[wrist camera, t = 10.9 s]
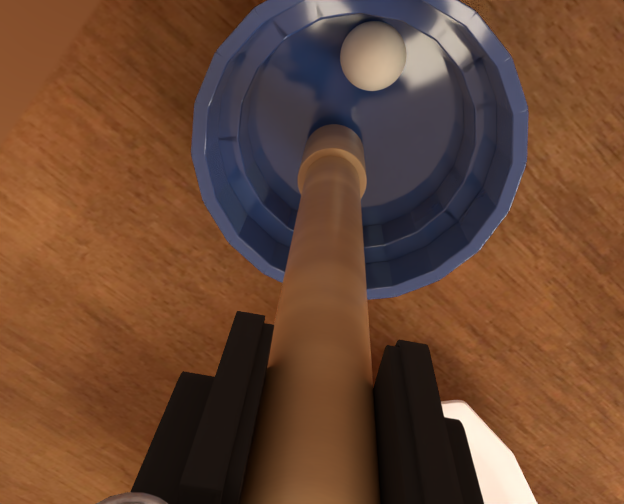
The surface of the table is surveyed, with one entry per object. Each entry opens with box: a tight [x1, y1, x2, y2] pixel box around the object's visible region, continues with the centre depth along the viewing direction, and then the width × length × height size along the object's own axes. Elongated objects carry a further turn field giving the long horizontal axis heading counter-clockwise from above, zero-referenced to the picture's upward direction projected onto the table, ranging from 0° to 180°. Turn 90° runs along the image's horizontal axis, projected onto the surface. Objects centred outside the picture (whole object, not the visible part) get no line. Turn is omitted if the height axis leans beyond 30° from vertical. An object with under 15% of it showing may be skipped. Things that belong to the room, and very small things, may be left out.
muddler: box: [239, 124, 381, 504], centre depth 15 cm, size 3×3×22 cm
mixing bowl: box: [191, 0, 529, 300], centre depth 24 cm, size 13×13×6 cm
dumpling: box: [340, 21, 406, 91], centre depth 23 cm, size 3×3×3 cm
